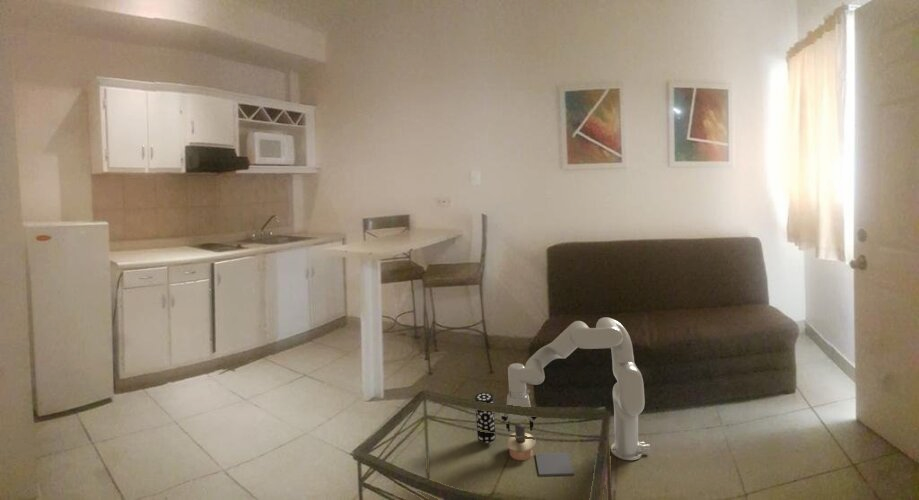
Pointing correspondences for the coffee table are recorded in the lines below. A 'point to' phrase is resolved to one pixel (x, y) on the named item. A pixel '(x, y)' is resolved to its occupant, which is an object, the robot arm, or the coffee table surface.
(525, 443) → the lid
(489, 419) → the white-spotted black cylinder
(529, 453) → the bowl
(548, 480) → the coffee table surface
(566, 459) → the mat
